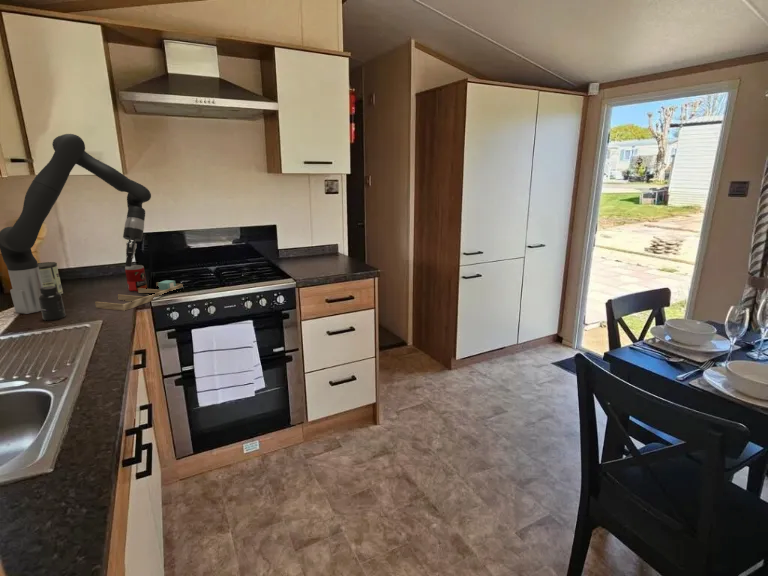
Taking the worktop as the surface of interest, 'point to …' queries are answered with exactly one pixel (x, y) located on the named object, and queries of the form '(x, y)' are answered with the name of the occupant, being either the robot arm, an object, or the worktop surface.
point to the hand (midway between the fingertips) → (128, 266)
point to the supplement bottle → (51, 304)
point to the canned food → (135, 277)
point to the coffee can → (50, 275)
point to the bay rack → (135, 298)
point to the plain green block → (166, 284)
